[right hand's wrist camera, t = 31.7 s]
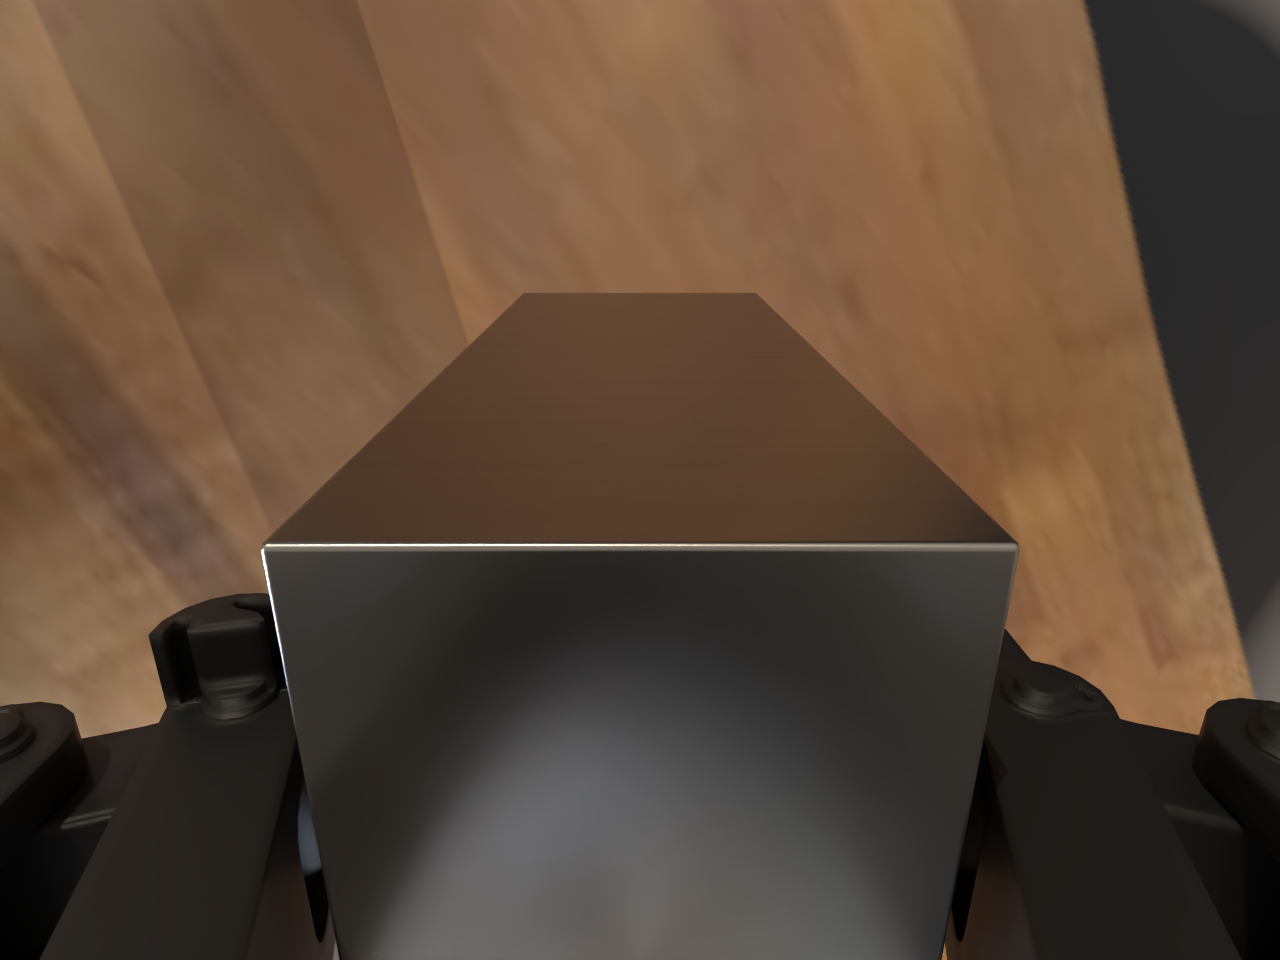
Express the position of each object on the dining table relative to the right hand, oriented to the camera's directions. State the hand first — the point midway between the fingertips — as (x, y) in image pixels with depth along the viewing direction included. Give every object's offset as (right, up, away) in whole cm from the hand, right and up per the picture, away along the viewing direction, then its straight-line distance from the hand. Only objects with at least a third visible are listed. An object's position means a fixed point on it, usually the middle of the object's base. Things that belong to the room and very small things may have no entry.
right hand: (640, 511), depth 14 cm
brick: (0, +1, +3) cm, 3 cm away
